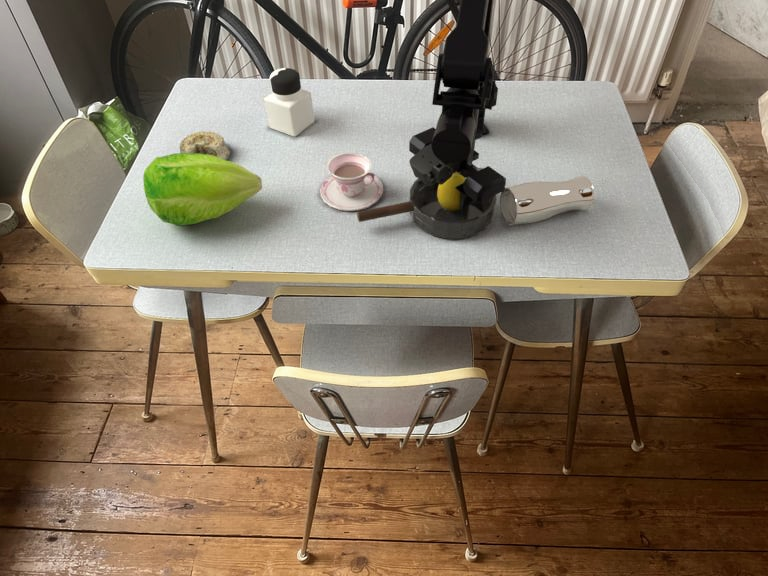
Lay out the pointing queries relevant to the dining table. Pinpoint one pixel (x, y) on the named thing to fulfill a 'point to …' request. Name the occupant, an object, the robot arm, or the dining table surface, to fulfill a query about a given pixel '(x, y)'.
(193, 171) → the lettuce
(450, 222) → the pan
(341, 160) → the teacup
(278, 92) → the medicine bottle
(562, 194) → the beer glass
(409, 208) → the pan handle
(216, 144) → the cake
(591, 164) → the dining table surface
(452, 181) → the lemon
